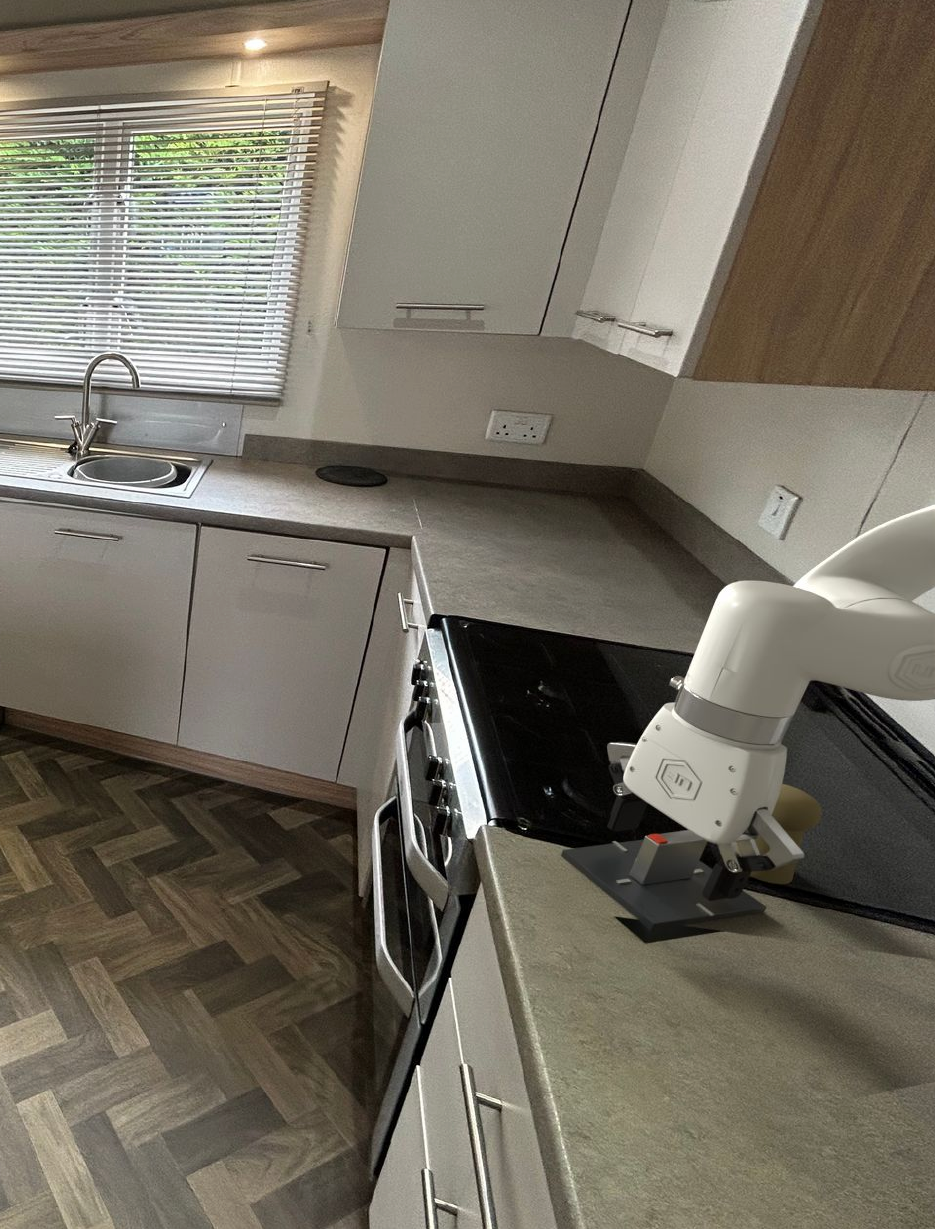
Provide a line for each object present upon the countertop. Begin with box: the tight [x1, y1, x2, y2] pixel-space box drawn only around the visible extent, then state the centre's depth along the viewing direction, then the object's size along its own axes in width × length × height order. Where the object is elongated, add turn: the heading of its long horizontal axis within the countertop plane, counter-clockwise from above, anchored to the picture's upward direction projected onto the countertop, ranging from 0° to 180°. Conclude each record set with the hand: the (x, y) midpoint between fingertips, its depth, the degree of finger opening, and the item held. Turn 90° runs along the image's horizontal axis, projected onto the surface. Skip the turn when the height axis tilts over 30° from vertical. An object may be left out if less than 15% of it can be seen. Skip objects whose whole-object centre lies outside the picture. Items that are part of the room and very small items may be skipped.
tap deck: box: [560, 839, 767, 944], centre depth 76 cm, size 13×10×3 cm
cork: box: [735, 783, 822, 885], centre depth 78 cm, size 6×6×11 cm
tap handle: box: [630, 829, 709, 885], centre depth 75 cm, size 6×1×5 cm, turn 100°
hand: (667, 860), depth 75 cm, fingers open, 9 cm apart
